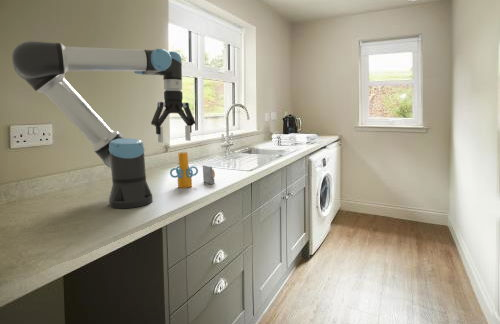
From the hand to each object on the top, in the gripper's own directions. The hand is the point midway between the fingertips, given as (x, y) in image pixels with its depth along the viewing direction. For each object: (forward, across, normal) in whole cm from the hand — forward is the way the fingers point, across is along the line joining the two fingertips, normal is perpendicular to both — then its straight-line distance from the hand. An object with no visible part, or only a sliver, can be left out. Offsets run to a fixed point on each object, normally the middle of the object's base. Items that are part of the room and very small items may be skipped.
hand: (174, 141), depth 149 cm
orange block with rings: (+20, +4, -1) cm, 21 cm away
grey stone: (+20, +15, -4) cm, 25 cm away
